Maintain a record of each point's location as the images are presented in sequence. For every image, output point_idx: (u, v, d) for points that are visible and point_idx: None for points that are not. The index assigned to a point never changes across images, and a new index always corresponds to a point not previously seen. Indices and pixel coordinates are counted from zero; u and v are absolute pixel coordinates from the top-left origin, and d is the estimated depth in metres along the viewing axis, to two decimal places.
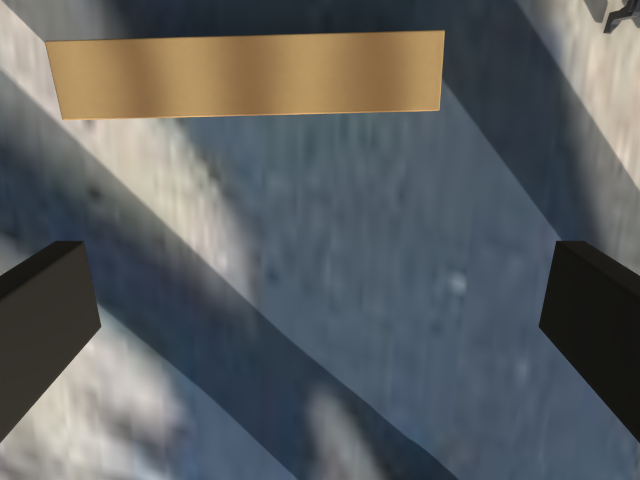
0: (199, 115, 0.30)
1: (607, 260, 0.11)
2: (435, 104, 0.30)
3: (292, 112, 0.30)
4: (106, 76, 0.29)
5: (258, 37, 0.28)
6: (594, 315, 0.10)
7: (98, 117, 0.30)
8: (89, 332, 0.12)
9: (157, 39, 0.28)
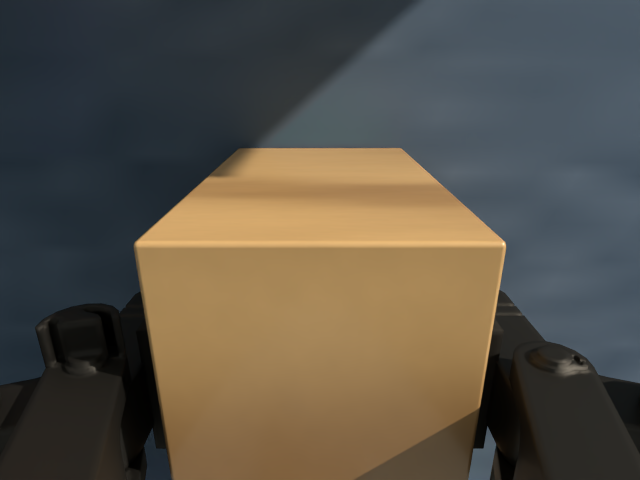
0: None
1: None
2: (473, 265, 0.06)
3: None
4: None
5: None
6: None
7: None
8: None
9: None
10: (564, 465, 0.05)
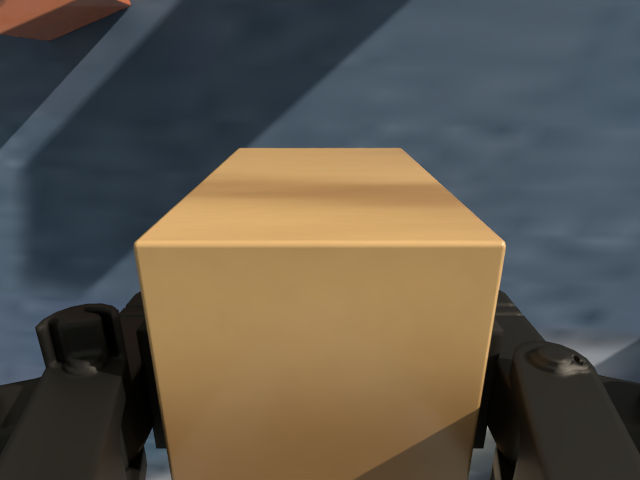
0: None
1: None
2: (472, 265, 0.06)
3: None
4: None
5: None
6: None
7: None
8: None
9: None
10: (564, 465, 0.05)
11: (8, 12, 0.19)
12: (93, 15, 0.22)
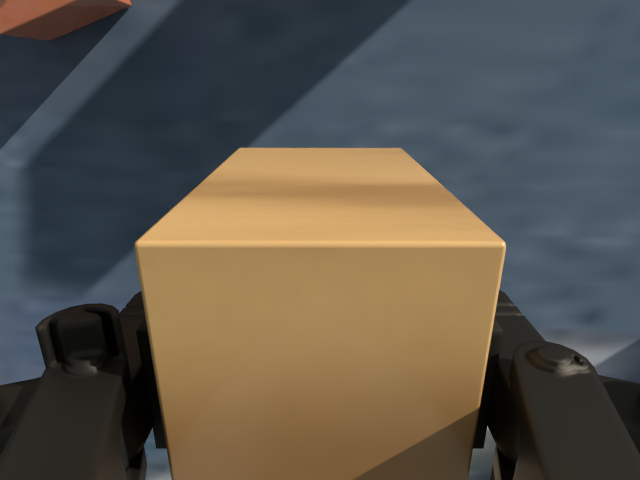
0: None
1: None
2: (473, 265, 0.06)
3: None
4: None
5: None
6: None
7: None
8: None
9: None
10: (564, 465, 0.05)
11: (9, 12, 0.19)
12: (94, 15, 0.22)
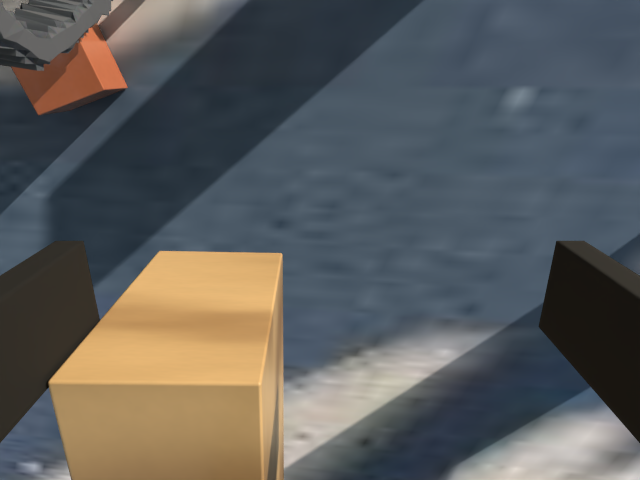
0: None
1: (607, 260, 0.11)
2: (243, 394, 0.10)
3: None
4: None
5: None
6: (594, 316, 0.10)
7: None
8: (89, 332, 0.12)
9: None
10: None
11: (45, 101, 0.29)
12: (101, 96, 0.32)
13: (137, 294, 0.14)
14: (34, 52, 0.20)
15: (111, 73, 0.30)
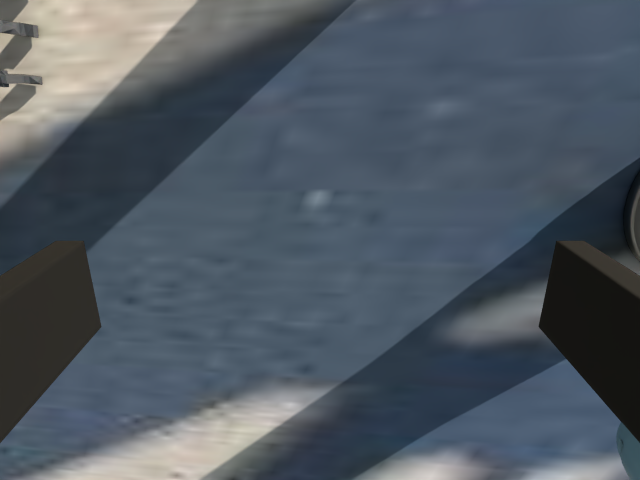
0: None
1: (607, 260, 0.11)
2: None
3: None
4: None
5: None
6: (594, 316, 0.10)
7: None
8: (89, 333, 0.12)
9: None
10: None
11: None
12: None
13: None
14: None
15: None
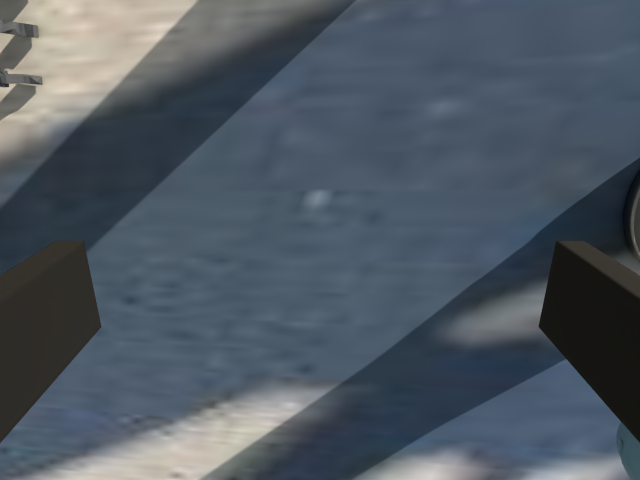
0: None
1: (607, 260, 0.11)
2: None
3: None
4: None
5: None
6: (594, 316, 0.10)
7: None
8: (89, 333, 0.12)
9: None
10: None
11: None
12: None
13: None
14: None
15: None
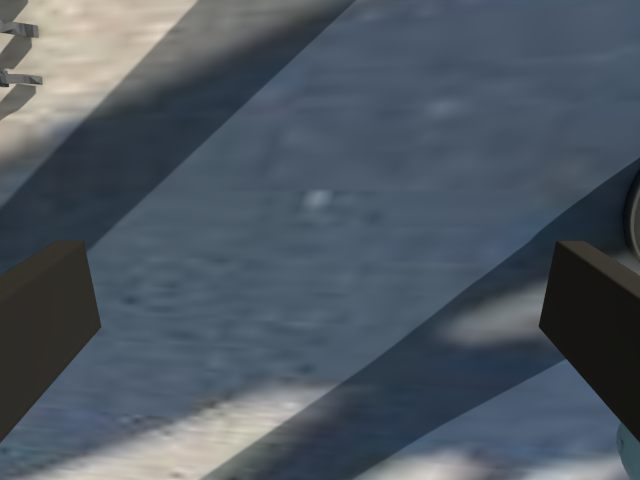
0: None
1: (607, 260, 0.11)
2: None
3: None
4: None
5: None
6: (594, 316, 0.10)
7: None
8: (89, 333, 0.12)
9: None
10: None
11: None
12: None
13: None
14: None
15: None
